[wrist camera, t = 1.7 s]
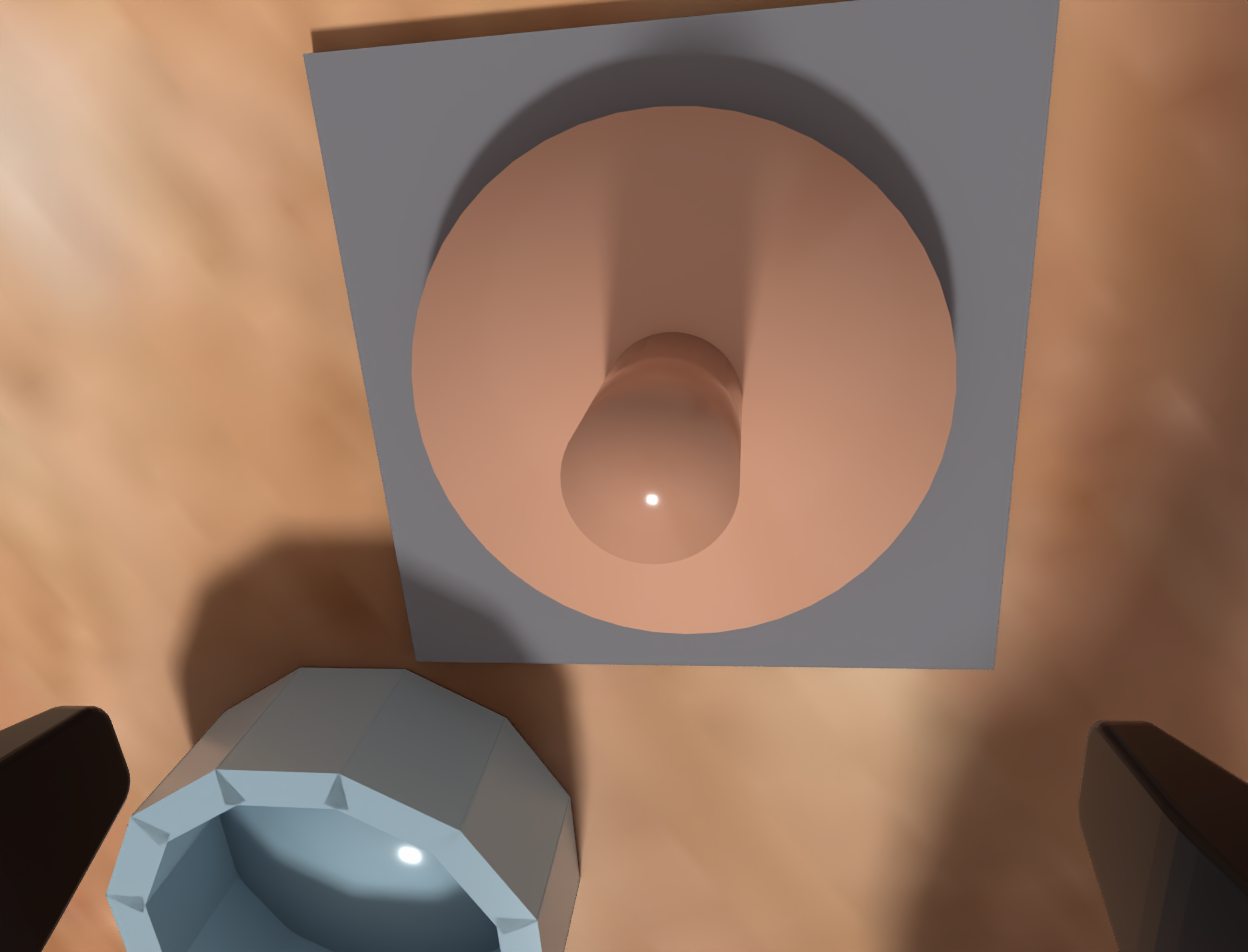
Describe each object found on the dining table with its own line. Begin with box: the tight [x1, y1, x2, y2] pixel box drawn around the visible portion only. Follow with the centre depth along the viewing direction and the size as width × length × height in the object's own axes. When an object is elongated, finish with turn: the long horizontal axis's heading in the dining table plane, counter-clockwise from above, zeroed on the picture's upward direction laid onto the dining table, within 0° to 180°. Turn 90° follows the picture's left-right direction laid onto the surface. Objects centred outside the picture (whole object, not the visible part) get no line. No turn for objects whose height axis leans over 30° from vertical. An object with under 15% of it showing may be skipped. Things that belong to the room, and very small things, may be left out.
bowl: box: [105, 667, 580, 952], centre depth 23 cm, size 11×11×4 cm
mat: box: [303, 0, 1060, 670], centre depth 19 cm, size 14×14×1 cm
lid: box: [412, 106, 956, 634], centre depth 16 cm, size 11×11×6 cm
